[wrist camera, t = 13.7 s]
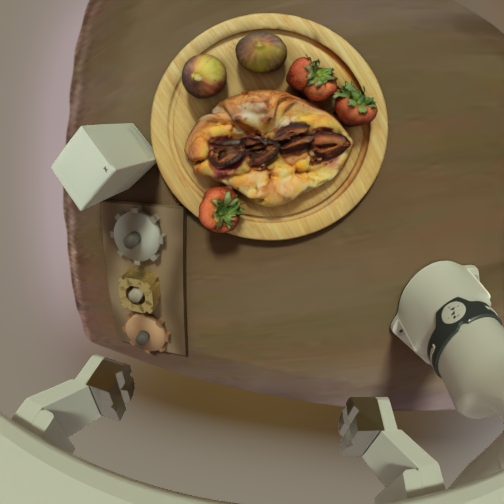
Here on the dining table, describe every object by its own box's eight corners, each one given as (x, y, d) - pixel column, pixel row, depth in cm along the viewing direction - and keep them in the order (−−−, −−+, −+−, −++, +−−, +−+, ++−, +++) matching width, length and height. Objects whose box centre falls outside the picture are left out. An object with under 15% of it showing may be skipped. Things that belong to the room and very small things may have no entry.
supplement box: (133, 121, 38) (82, 122, 26) (162, 159, 40) (117, 172, 28) (102, 154, 40) (48, 167, 28) (128, 190, 42) (80, 213, 30)
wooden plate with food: (269, 278, 45) (267, 307, 38) (115, 137, 39) (84, 140, 31) (424, 134, 35) (453, 137, 27) (264, -18, 29) (260, -46, 21)
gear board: (186, 206, 42) (174, 216, 37) (187, 350, 53) (180, 368, 48) (105, 199, 43) (87, 208, 38) (121, 335, 53) (110, 351, 49)
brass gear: (159, 272, 45) (151, 282, 42) (161, 304, 47) (154, 315, 44) (125, 266, 45) (116, 275, 42) (129, 298, 48) (121, 308, 45)
